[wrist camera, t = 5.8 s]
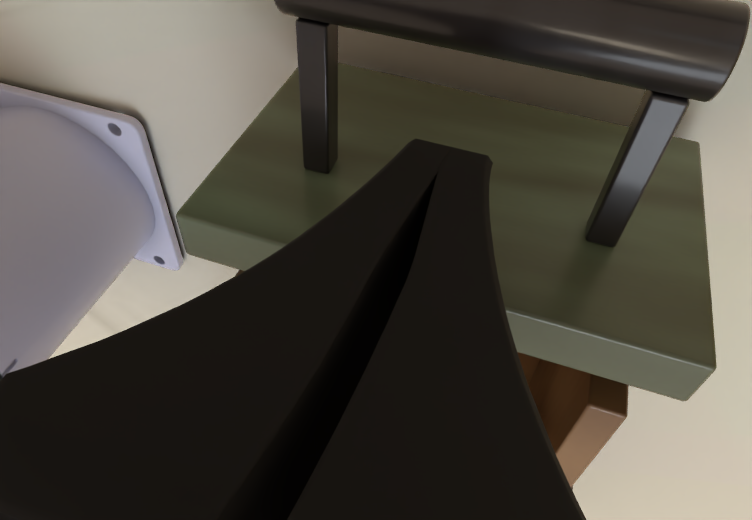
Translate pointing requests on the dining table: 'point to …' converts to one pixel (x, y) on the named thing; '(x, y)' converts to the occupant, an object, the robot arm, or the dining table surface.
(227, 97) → the dining table surface
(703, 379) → the drawer
